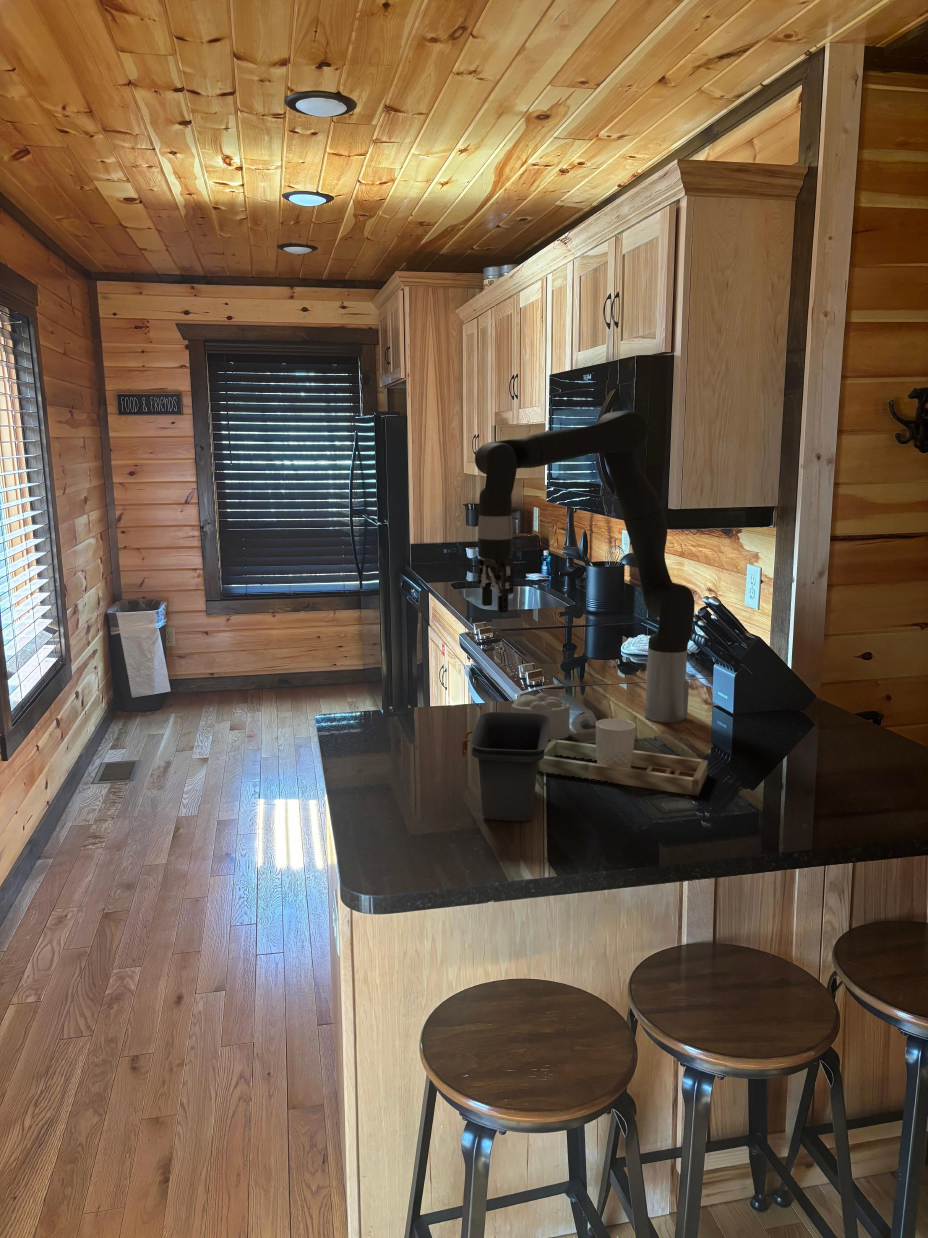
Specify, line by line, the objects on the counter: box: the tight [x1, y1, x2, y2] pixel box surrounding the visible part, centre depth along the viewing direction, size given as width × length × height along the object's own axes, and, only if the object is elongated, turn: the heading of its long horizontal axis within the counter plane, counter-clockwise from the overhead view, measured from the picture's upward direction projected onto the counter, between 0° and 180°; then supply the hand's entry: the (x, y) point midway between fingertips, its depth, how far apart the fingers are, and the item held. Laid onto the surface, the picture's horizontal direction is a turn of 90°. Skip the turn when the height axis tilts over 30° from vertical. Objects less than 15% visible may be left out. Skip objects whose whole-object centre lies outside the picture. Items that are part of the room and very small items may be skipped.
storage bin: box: [461, 711, 550, 822], centre depth 162 cm, size 21×16×14 cm
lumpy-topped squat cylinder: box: [510, 693, 571, 740], centre depth 203 cm, size 10×13×9 cm
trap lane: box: [537, 739, 709, 797], centre depth 179 cm, size 32×12×3 cm, turn 67°
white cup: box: [595, 718, 637, 769], centre depth 179 cm, size 8×8×10 cm
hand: (494, 608), depth 198 cm, fingers open, 8 cm apart
